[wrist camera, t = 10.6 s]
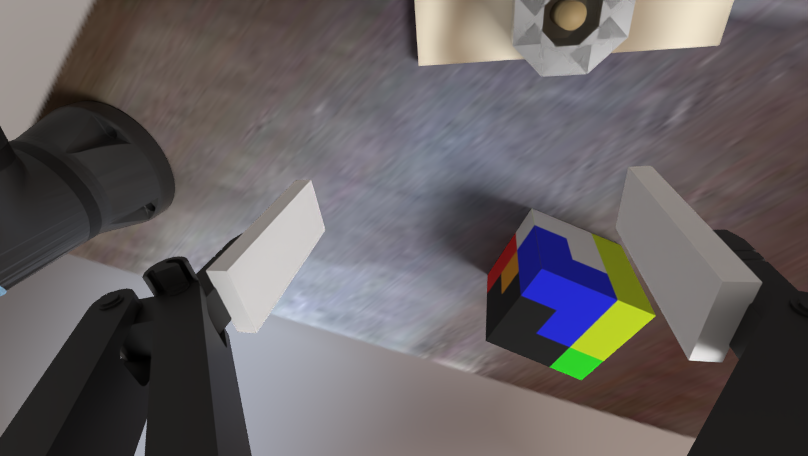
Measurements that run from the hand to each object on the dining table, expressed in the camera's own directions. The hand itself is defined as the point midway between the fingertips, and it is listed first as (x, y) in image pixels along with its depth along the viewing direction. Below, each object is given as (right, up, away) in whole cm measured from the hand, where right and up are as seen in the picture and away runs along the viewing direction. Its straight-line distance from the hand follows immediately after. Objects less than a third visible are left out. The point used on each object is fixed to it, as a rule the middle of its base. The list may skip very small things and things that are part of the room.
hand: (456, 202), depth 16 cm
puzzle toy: (+14, -5, +25) cm, 29 cm away
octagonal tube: (+9, +15, +11) cm, 21 cm away
